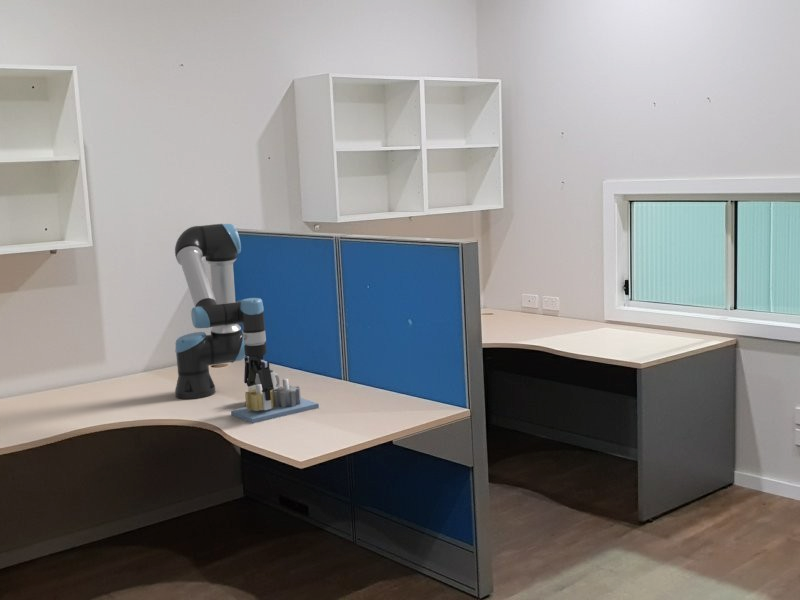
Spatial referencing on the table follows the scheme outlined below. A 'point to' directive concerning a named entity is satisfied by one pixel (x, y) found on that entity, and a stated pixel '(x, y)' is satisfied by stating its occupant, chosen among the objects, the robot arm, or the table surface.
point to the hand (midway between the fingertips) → (260, 406)
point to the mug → (272, 379)
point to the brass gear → (256, 400)
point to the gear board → (277, 404)
